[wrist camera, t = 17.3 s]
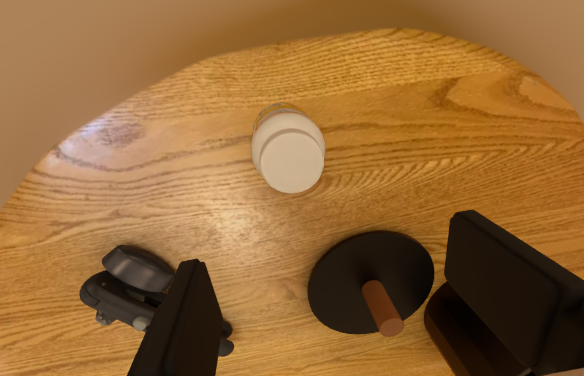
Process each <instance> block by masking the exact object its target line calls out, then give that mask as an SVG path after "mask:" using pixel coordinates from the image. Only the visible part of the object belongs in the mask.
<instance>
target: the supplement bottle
mask: <svg viewBox="0 0 584 376" xmlns="http://www.w3.org/2000/svg"><path fill="white" fill-rule="evenodd" d="M251 157H252V161H253V164H254V166H255V168H256V170H257V171H258V172H259V174H260V175H261V176H262V177H263V178H264V179H265V180H266V182H267V183H268V184H269V185H270V186H271V187H272V188H274V189H276V190H278V191H280V192H283V193H299V192H303V191H305V190H307V189H309V188H310V187H312V186H313V185H314V184H315V183H316V182H317V181H318V179H319V178H320V176H321V174H322V171H323V167H324V157H325V142H324V138H323V135H322V133H321V131H320V130H319V128H318V127H317V126H316V124H315V123H314V122H313V121H312V120H311V119H310V118H309V117H308V116H307V115H306V114H305V113H304V112H303V111H302V110H301V109H300V108H299V107H297V106H295V105H293V104H289V103H275V104H272V105H270V106H268V107H266V108H265V109H264V110H263V111H262V112H261V113H260V114H259V115H258V117H257V119H256V121H255V124H254V129H253V137H252V142H251Z"/></svg>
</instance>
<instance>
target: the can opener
mask: <svg viewBox="0 0 584 376" xmlns="http://www.w3.org/2000/svg"><path fill="white" fill-rule="evenodd" d="M102 264H103V266H104V267H105V268H106V269H107V270H106V271H102V272H100V273H97V274H95V275H93V276H92V277H90V278H89V279H88V280H87V281H86V282H85V283H84V284H83V285H82V287H81V290H80V299H81V301H82V302H83V303H84V304H86V305H88V306H89V307H92V308H94V309H96V310H97V314H96V321H97V323H98V324H100V325H110V324H111V323H112V322H114V321H115V320H116V319H118V320H120V321H122V322H124V323H126V324H128V325H130V326H132V327H134V328H135V329H137V330H138V331H144V332H146V331H147V329H148V326H149V324H150V322H151V320H152V317H153V315H154V313H155V311H156V309H157V307H158V305H160V304H161V303H163V302H164V300H165V298H166V294H164V293H162V292H164V291H166V290H167V289H168V287H169V286H170V284H171V282H172V281H173V278H174V276H175V272H174V271H173V269H172V268H171V267H170V266H169V265H168V264H166V263H165V262H164V261H162V260H161V259H159V258H158V257H156V256H154V255H152V254H150V253H148V252H146V251H143V250H141V249H138V248H135V247H131V246H126V245H120V246H117V247H116V248H114V249H113V250H112V251H111V252H109V253H108V254H107V255H106V256H105V257H104V258H103V259H102ZM231 333H232V327H231V326H230V325H229V324H228V323H226V322H225V321H223V327H222V333H221V340H220V347H219V354H218V356H222V357H224V356H227V355H229V354H230V353H231V352H232V351H233V349H234V344H233V343H232V342H231V341H229V340H227V339H226V338H228V337H229V336H230V335H231Z"/></svg>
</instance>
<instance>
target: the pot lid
mask: <svg viewBox="0 0 584 376" xmlns="http://www.w3.org/2000/svg"><path fill="white" fill-rule="evenodd" d="M433 281H434V265H433V262H432V259H431V257H430V255H429V253H428V252H427V251H426V249H425V248H424V247H423V246H422V245H421V244H420V243H419V242H418V241H416V240H415V239H413V238H412V237H410V236H407V235H405V234H402V233H398V232H393V231H372V232H366V233H362V234H358V235H355V236H353V237H350V238H348V239H346V240H344V241H342V242H340V243H339V244H337V245H336V246H334V247H333V248H332V249H330V250H329V251H328V252H327V253H326V254H325V255H324V256H323V257H322V258H321V259H320V260H319V262H318V263H317V264H316V266H315V268H314V269H313V271H312V274H311V276H310V279H309V283H308V290H307V291H308V300H309V304H310V307H311V309H312V312H313V313H314V315H315V316H316V317H317V318H318V320H319V321H320V322H322V323H323V324H324V325H326V326H327V327H329V328H331V329H333V330H336V331H339V332H342V333H348V334H369V333H375V332H379V331H380V333H381V334H382V335H383V336H387V337H391V336H395V335H397V334H399V333H400V332H401V331H402V330H403V328H404V322H403V321H404V320H405V319H407V318H408V317H410V316H411V315H412V314H413V313H414V312H415V311H416V310H418V309H419V307H420V306H421V305H422V304H423V303H424V301H425V300H426V298H427V297H428V295H429V293H430V291H431V288H432V285H433Z"/></svg>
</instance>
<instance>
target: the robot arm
mask: <svg viewBox="0 0 584 376" xmlns="http://www.w3.org/2000/svg"><path fill="white" fill-rule="evenodd" d="M444 274H445V278H446V280H447V282H448V283H449V284H450V285H451V286H452V287H453V288H454V290H455V291H456V292H457V293H458V294H459V295H460V296H461V297H462V298H463V300H464V301H465V302H466V303H467V304H468V305H469V306H470V307H471V308H472V310H473V311H474V312H475V313H476V314H477V315H478V316H479V317H480V318H481V320H482V321H483V322H484V323H485V324H486V325H487V326H488V327H489V329H490V330H491V331H492V332H493V333H494V334H495V335H496V336H497V337H498V339H499V340H500V341H501V342H502V343H503V344H504V345H505V346H506V347H507V349H508V350H509V351H510V352H511V353H512V354H513V355H514V356H515V357H516V359H517V360H518V361H519V362H520V363H521V364H523V365H525V366H528V367H529V368H530V369H531V370H532V371H533V372H534V374H535V375H536V376H584V280H582V279H581V278H579V277H578V276H576V275H575V274H573V273H571V272H570V271H568V270H567V269H565V268H564V267H562V266H561V265H559V264H557V263H556V262H554V261H553V260H551V259H550V258H548V257H546V256H545V255H543V254H542V253H540V252H539V251H537V250H536V249H534V248H532V247H531V246H529V245H528V244H526V243H525V242H523V241H522V240H520V239H518V238H517V237H515V236H514V235H512V234H511V233H509V232H507V231H506V230H504V229H503V228H501V227H500V226H498V225H497V224H495V223H493V222H492V221H490V220H489V219H487V218H486V217H484V216H483V215H481V214H479V213H478V212H476V211H474V210H466V211H461V212H456V213H455V214H454V216H453V217H452V218H451V219H450V226H449V235H448V243H447V252H446V261H445V270H444ZM222 327H223V317H222V313H221V310H220V307H219V304H218V301H217V298H216V295H215V292H214V289H213V286H212V283H211V280H210V277H209V274H208V271H207V268H206V265H205V263H204V262H200V261H199V260H198V259H193V260H187V261H182V262H181V263H180V264H179V267H178V269H177V272H176V274H175V276H174V279H173V281H172V283H171V286H170V288H169V291H168V293H167V295H166V298H165V300H164V302H163V303H161V304H160V305H158V307H157V309H156V311H155V313H154V315H153V317H152V320H151V322H150V324H149V326H148V329H147V331H146V333H145V336H144V338H143V340H142V342H141V345H140V347H139V349H138V351H137V354H136V356H135V358H134V361H133V363H132V365H131V367H130V370H129V372H128V374H127V376H215V374H216V367H217V360H218V354H219V347H220V340H221V333H222ZM556 370H557V371H558V372H559V373H555V372H556Z"/></svg>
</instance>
